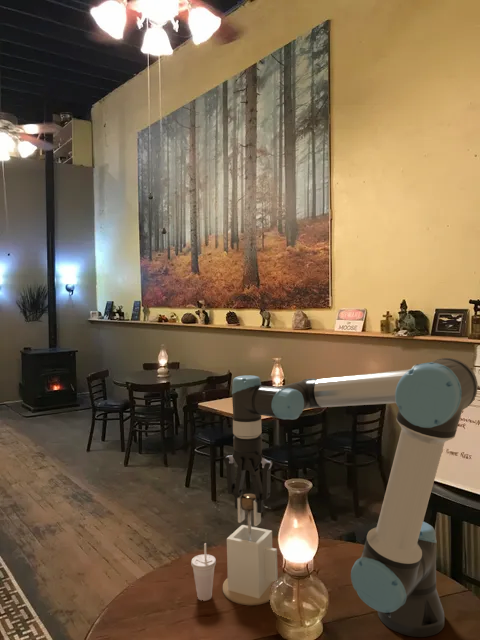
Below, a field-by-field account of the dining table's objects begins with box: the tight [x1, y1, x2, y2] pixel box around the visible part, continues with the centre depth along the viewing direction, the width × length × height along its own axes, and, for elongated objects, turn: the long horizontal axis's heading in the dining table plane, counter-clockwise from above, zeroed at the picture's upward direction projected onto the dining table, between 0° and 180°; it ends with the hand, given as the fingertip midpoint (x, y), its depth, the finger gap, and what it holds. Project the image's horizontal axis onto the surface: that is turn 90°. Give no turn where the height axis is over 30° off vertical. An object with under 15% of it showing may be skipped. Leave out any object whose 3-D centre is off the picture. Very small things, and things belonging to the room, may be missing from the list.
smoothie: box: [190, 542, 217, 602], centre depth 132 cm, size 6×6×14 cm
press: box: [222, 524, 279, 606], centre depth 136 cm, size 15×15×15 cm
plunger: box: [241, 493, 256, 542], centre depth 135 cm, size 6×6×22 cm
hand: (249, 522), depth 135 cm, fingers closed on plunger, 4 cm apart
